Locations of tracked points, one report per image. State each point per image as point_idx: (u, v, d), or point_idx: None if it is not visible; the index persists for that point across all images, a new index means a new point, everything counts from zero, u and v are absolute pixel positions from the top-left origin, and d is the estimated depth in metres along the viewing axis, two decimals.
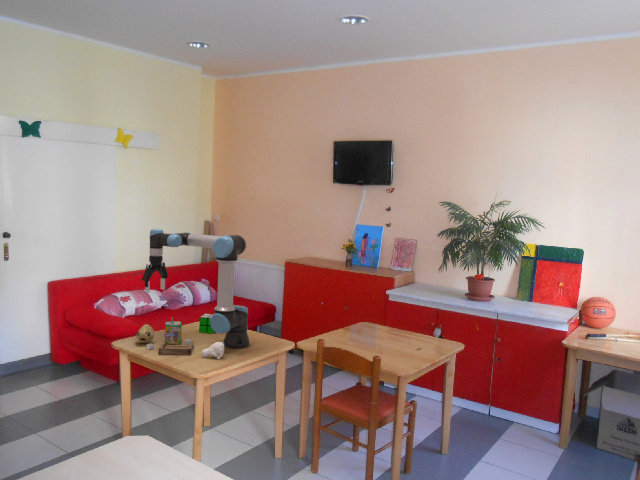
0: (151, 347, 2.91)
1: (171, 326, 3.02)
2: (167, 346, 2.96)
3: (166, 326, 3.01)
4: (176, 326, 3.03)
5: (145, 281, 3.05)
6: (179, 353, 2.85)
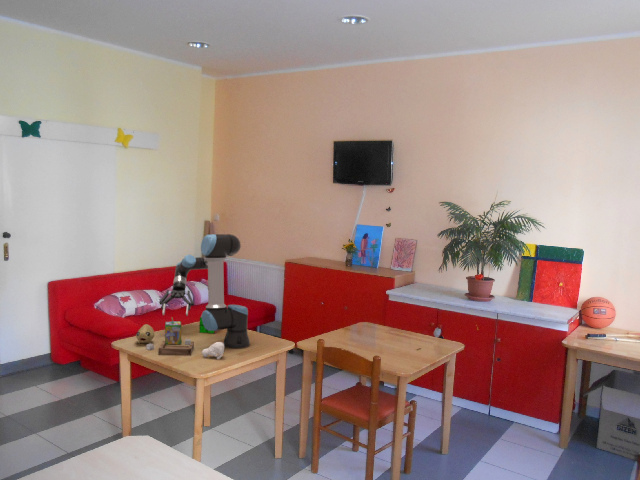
0: (151, 347, 2.91)
1: (171, 326, 3.02)
2: (167, 346, 2.96)
3: (166, 326, 3.01)
4: (176, 326, 3.03)
5: (161, 304, 3.18)
6: (179, 353, 2.85)
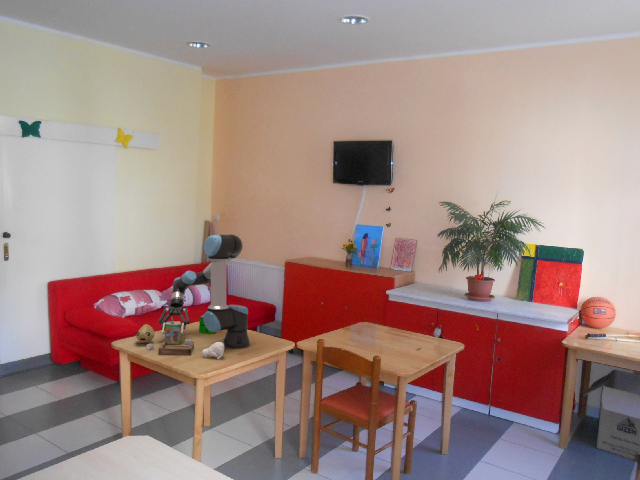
0: (151, 347, 2.91)
1: (171, 326, 3.02)
2: (167, 346, 2.96)
3: (166, 326, 3.01)
4: (176, 326, 3.03)
5: (161, 323, 3.07)
6: (179, 353, 2.85)
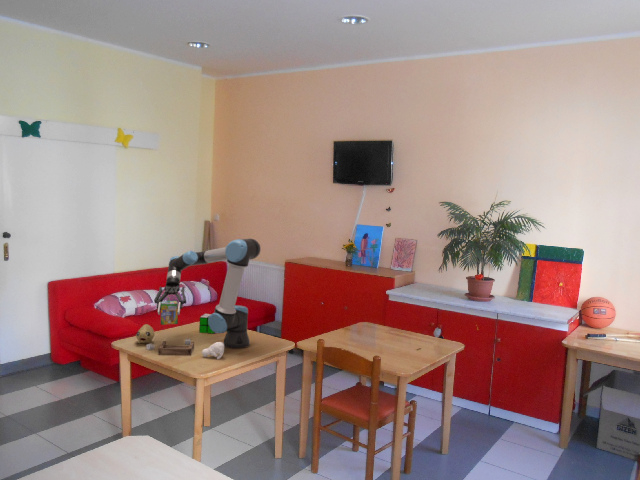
0: (151, 347, 2.91)
1: (167, 305, 2.88)
2: (167, 346, 2.96)
3: (162, 305, 2.87)
4: (172, 305, 2.89)
5: (157, 302, 2.93)
6: (179, 353, 2.85)
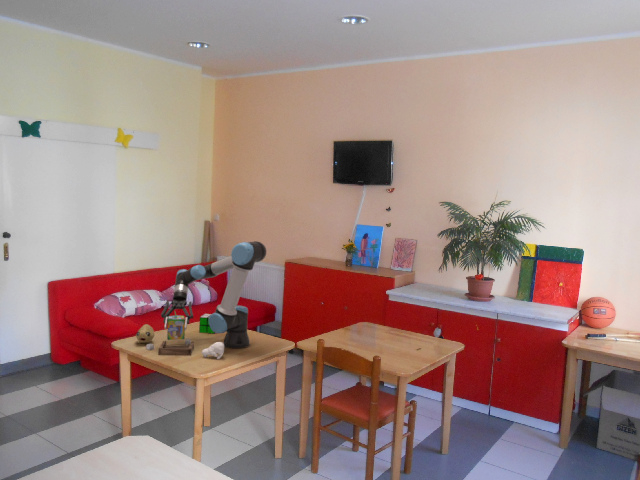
0: (151, 347, 2.91)
1: (174, 320, 2.86)
2: (167, 346, 2.96)
3: (169, 320, 2.85)
4: (179, 320, 2.87)
5: (163, 317, 2.91)
6: (179, 353, 2.85)
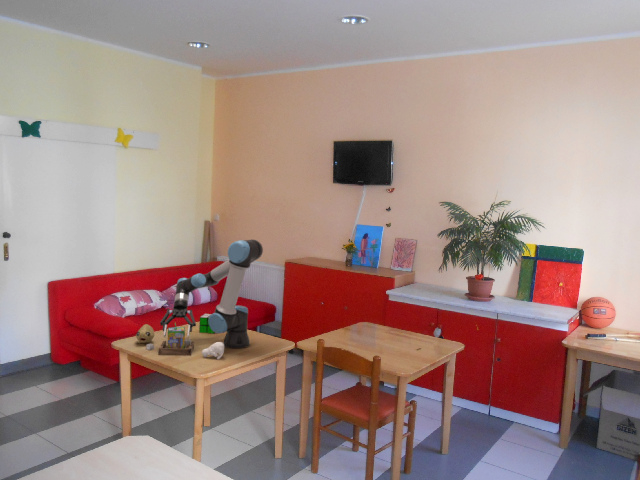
0: (151, 347, 2.91)
1: (174, 332, 2.86)
2: (167, 346, 2.96)
3: (169, 332, 2.86)
4: (179, 332, 2.87)
5: (163, 325, 2.92)
6: (179, 353, 2.85)
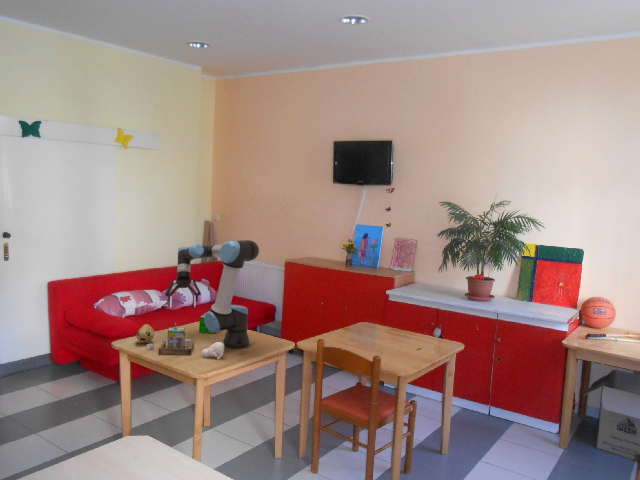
0: (151, 347, 2.91)
1: (174, 332, 2.86)
2: (167, 346, 2.96)
3: (169, 332, 2.86)
4: (179, 332, 2.87)
5: (168, 296, 3.08)
6: (179, 353, 2.85)
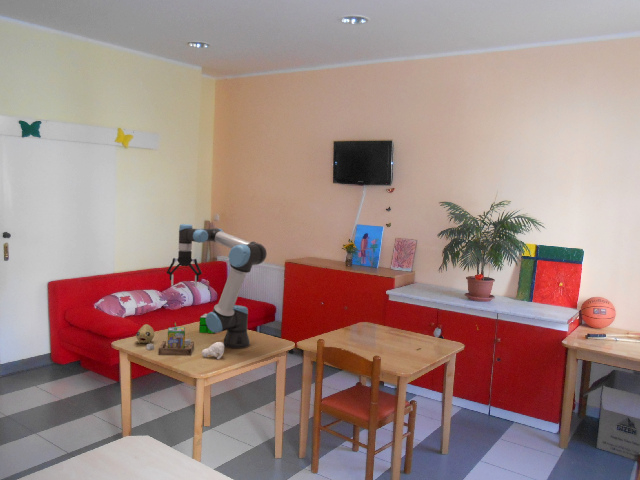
0: (151, 347, 2.91)
1: (174, 332, 2.86)
2: (167, 346, 2.96)
3: (169, 332, 2.86)
4: (179, 332, 2.87)
5: None
6: (179, 353, 2.85)
